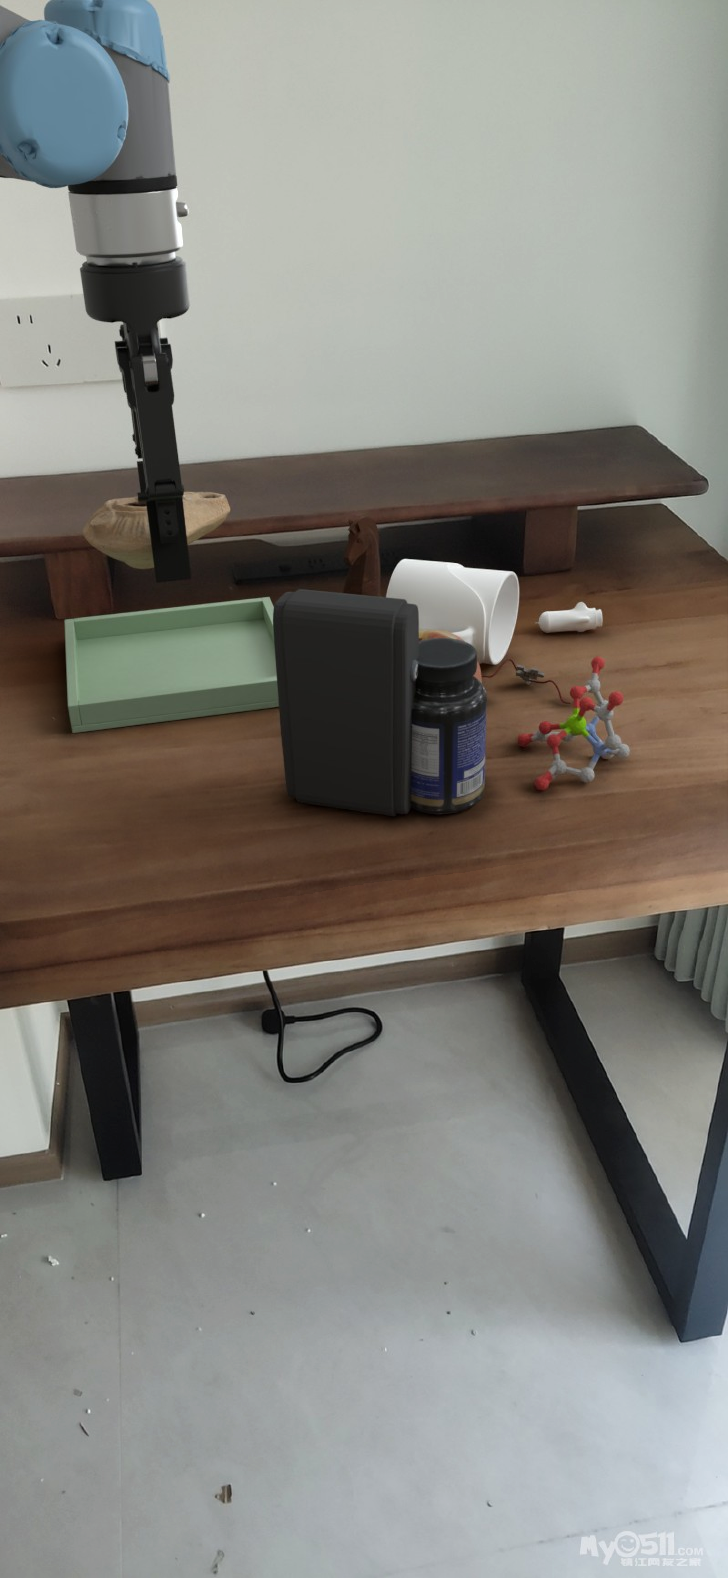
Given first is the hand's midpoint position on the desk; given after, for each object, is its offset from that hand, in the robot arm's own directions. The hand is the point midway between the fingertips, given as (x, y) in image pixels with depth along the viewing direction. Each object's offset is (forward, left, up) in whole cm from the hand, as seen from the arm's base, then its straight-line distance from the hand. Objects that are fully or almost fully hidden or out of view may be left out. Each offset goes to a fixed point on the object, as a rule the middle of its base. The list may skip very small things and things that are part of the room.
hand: (167, 557), depth 96 cm
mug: (+22, -4, -10) cm, 25 cm away
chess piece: (+17, +6, -11) cm, 21 cm away
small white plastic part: (+34, -1, -11) cm, 36 cm away
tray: (0, 0, -10) cm, 10 cm away
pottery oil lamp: (0, +1, 0) cm, 1 cm away
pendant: (+26, -13, -9) cm, 30 cm away
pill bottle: (+16, -25, -11) cm, 32 cm away
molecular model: (+26, -24, -11) cm, 36 cm away
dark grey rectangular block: (+10, -24, -11) cm, 28 cm away
